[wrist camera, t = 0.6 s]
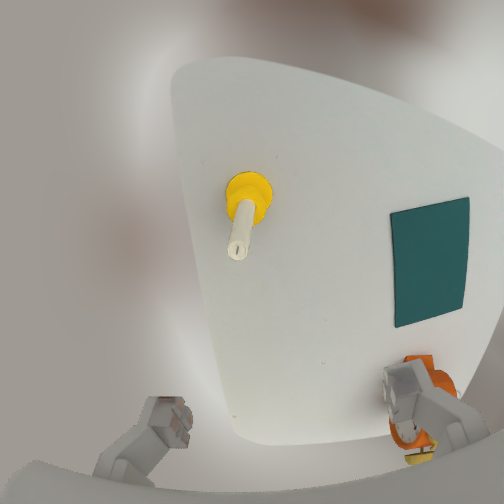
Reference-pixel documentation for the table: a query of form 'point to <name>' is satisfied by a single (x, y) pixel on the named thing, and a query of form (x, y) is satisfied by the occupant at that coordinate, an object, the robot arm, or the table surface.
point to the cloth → (430, 260)
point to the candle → (246, 209)
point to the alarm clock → (409, 431)
